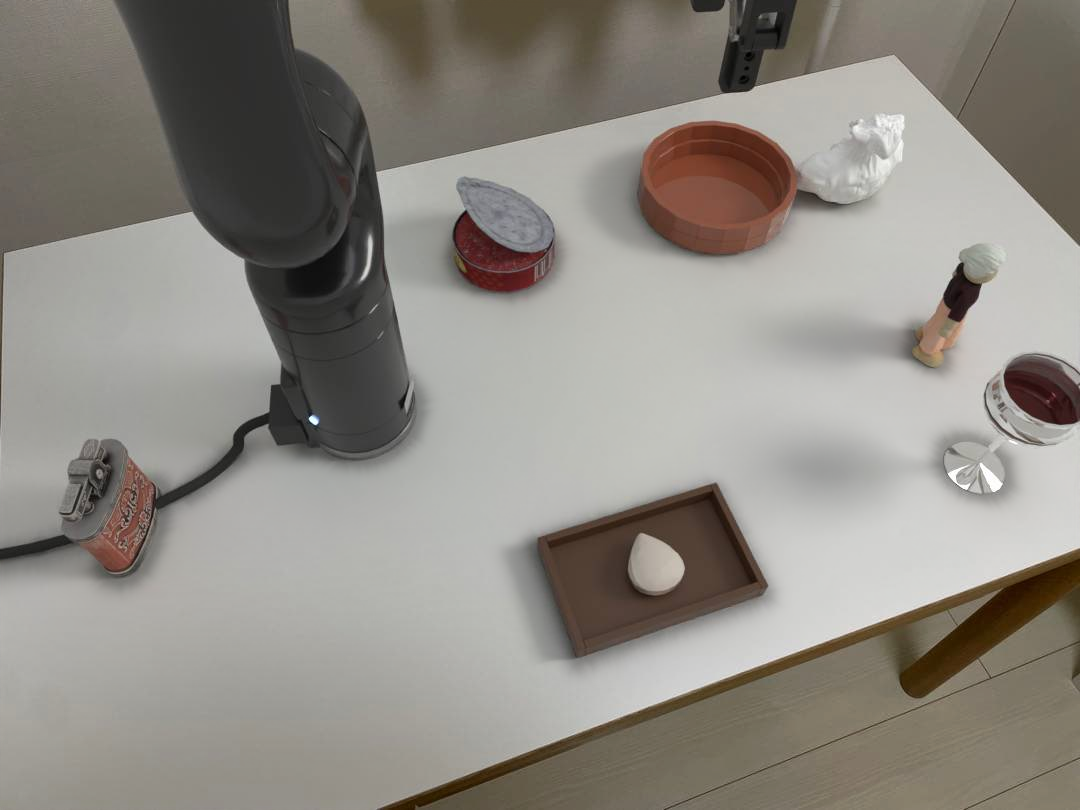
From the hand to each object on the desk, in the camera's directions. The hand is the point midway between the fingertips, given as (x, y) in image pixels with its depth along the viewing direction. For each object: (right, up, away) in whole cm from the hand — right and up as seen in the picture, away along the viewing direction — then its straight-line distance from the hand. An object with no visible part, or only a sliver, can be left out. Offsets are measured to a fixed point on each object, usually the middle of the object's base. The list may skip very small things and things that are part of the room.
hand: (720, 47), depth 56 cm
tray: (-3, -36, +10) cm, 38 cm away
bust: (+20, -1, +33) cm, 39 cm away
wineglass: (+25, -29, +16) cm, 41 cm away
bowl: (+6, -2, +32) cm, 33 cm away
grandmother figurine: (+24, -18, +23) cm, 38 cm away
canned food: (-15, -9, +28) cm, 33 cm away
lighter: (-44, -34, +12) cm, 57 cm away
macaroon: (-3, -36, +10) cm, 38 cm away
